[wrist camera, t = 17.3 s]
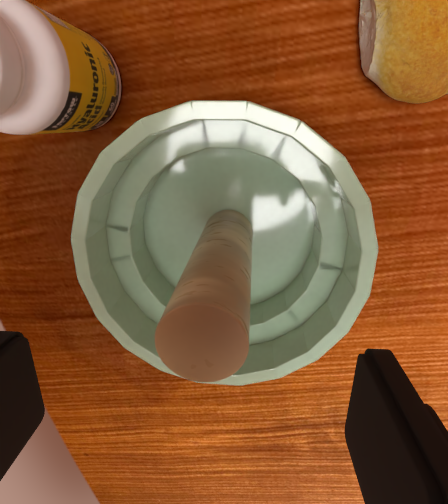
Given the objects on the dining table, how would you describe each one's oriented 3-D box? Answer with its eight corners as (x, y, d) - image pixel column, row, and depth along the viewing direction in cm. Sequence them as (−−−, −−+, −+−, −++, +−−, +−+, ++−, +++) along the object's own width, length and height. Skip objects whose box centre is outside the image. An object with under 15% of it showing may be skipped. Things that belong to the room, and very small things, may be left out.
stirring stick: (205, 254, 23) (157, 380, 12) (204, 208, 22) (150, 301, 11) (251, 256, 23) (247, 386, 12) (253, 210, 22) (250, 306, 11)
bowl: (127, 322, 26) (93, 375, 21) (102, 104, 21) (46, 100, 15) (330, 333, 25) (351, 394, 20) (364, 106, 19) (407, 101, 14)
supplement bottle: (112, 144, 22) (7, 163, 12) (30, 110, 21) (-138, 104, 12) (135, 53, 20) (30, -4, 10) (45, 14, 19) (-143, -79, 10)
